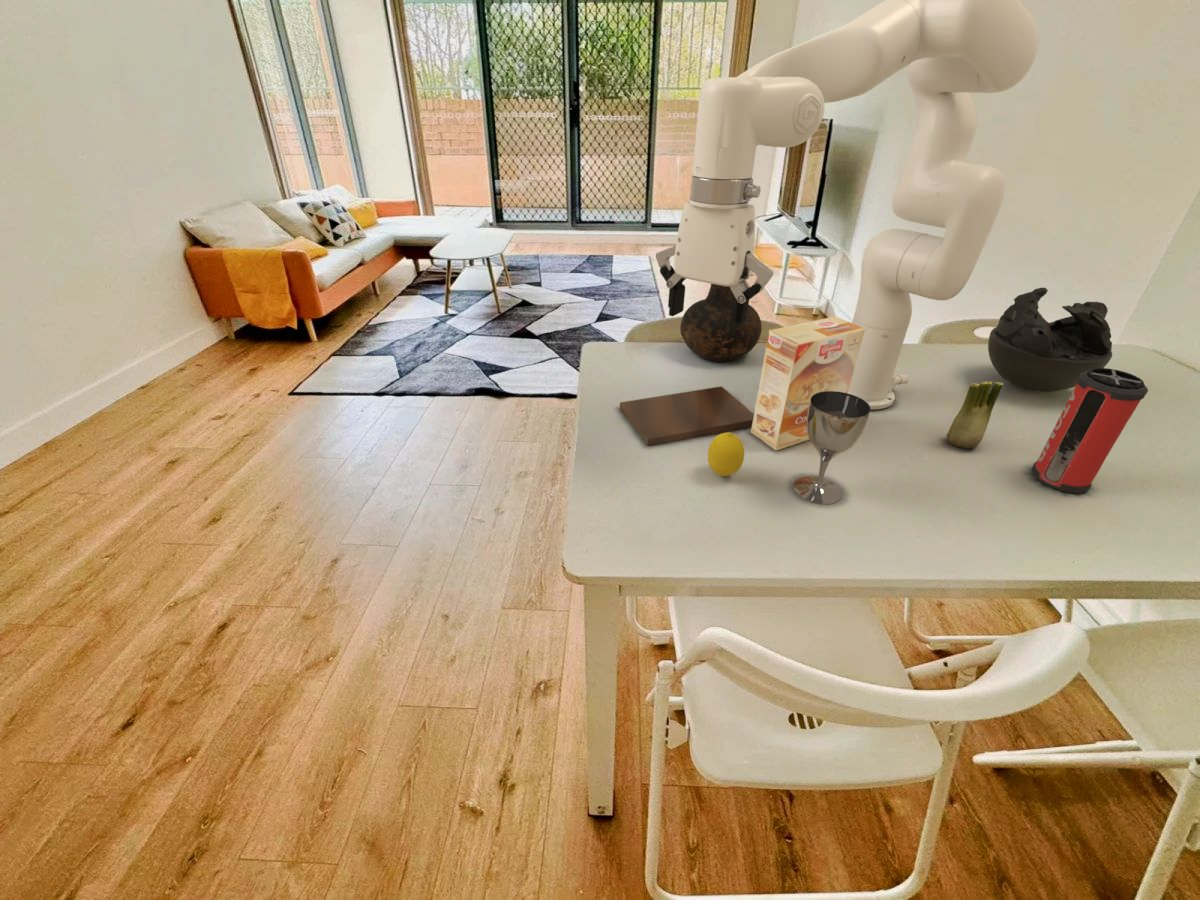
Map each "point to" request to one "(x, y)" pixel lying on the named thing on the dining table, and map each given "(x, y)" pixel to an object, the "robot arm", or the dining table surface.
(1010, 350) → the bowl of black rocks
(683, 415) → the cutting board
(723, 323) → the glass bottle
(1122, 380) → the speaker
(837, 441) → the wine glass
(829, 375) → the coffeecake box
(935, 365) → the dining table surface
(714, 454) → the lemon
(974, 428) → the fennel bulb
